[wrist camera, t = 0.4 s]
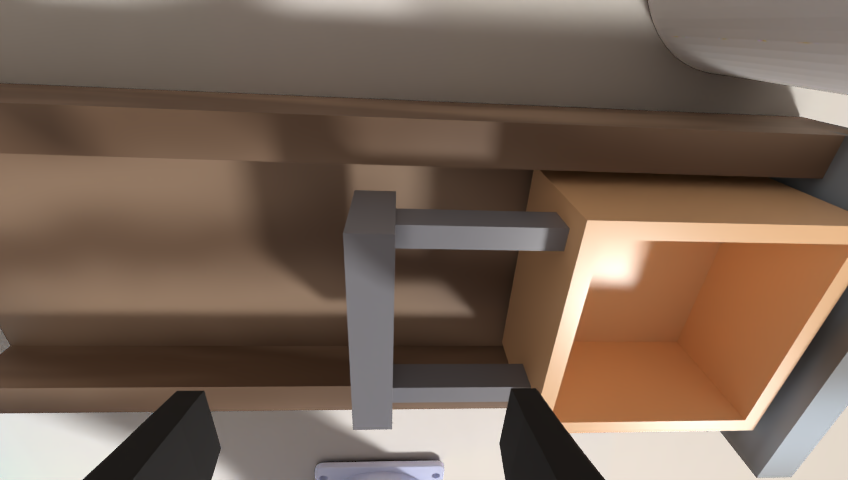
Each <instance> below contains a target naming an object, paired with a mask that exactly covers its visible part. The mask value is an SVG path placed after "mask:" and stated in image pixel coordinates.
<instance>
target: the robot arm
mask: <svg viewBox="0 0 848 480" xmlns="http://www.w3.org/2000/svg"><path fill="white" fill-rule="evenodd" d="M220 449H221V447H220V443H219V440H218V436H217V433H216V429H215V426H214V423H213V419H212V416H211V412H210V409H209V405H208V402H207V398H206V395H205V391H176V392H175V393H174V394H173V395H172V396H171V397H170V398H169V399H168V400H166V401H165V402H164V403H163V404H162V405H161V406H160V407H159V408H158V409H157V410H156V411H155V412H154V413H153V414H152V415H151V416H150V417H149V418H148V419H147V420H145V421H144V422H143V423H142V424H141V425H140V426H139V427H138V428H137V429H136V430H135V431H134V432H133V433H132V434H131V435H130V436H129V437H128V438H127V439H126V440H125V441H124V442H122V443H121V444H120V445H119V446H118V447H117V448H116V449H115V450H114V451H113V452H112V453H111V454H110V455H109V456H108V457H107V458H105V459H104V460H103V461H102V462H101V463H100V464H99V465H98V466H97V467H96V468H95V469H94V470H93V471H91V472H90V473H89V474H88V475H87V476H86V477H85V478H84V479H83V480H211V479H212V476H213V473H214V469H215V466H216V463H217V459H218V456H219V453H220ZM500 450H501V456H502V462H503V468H504V474H505V480H605V479H604V478H603V477H602V475H601V474H600V473H599V472H598V470H597V469H596V468H595V466H594V465H593V464H592V463H591V461H590V460H589V459H588V458H587V456H586V455H585V454H584V453H583V451H582V450H581V449H580V447H579V446H578V445H577V443H576V442H575V441H574V439H573V438H572V437H571V435H570V434H569V433H568V431H567V430H566V429H565V427H564V426H563V425H562V423H561V422H560V420H559V419H558V418H557V416H556V415H555V414H554V412H553V411H552V409H551V408H550V407H549V405H548V404H547V402H546V401H545V399H544V398H543V397H542V395H541V394H540V392H539V391H538V390H537V389H536V388H511V391H510V395H509V400H508V405H507V410H506V415H505V420H504V424H503V429H502V434H501V439H500ZM443 476H444V464H443V463H442V462H441V461H437V460H430V461H378V462H326V463H319V464H317V465H316V468H315V480H443Z"/></svg>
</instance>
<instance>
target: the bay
mask: <svg viewBox="0 0 848 480" xmlns="http://www.w3.org/2000/svg"><path fill="white" fill-rule="evenodd" d="M533 170H556V171H588V172H620V173H653V174H685V175H717V176H750V177H768V178H770V179H773V180H775V181H778V182H780V183H782V184H785V185H787V186H789V187H792V188H794V189H797V190H799V191H801V192H804V193H806V194H809V195H811V196H813V197H816V198H818V199H820V200H823V201H825V202H828V203H830V204H832V205H835V206H837V207H839V208H842V209H844V210H847V211H848V128H846V127H842V126H838V125H833V124H829V123H825V122H821V121H816V120H812V119H808V118H803V117H791V116H767V115H743V114H719V113H696V112H672V111H648V110H624V109H601V108H577V107H553V106H529V105H505V104H482V103H458V102H434V101H410V100H386V99H363V98H339V97H315V96H291V95H268V94H244V93H220V92H196V91H172V90H149V89H125V88H101V87H77V86H54V85H30V84H6V83H0V328H1V329H2V331H3V333H4V335H5V336H6V338H7V340H8V342H9V343H10V345H11V346H10V347H9V348H8V349H6V350H5V351H4V352H3V353H1V354H0V413H81V412H155V411H156V410H157V409H158V408H159V407H160V406H161V405H162V404H163V403H164V402H165V401H166V400H168V399H169V398H170V397H171V396H172V395H173V394H174V393H175V392H176V391H205V395H206V398H207V402H208V405H209V409H210V411H272V410H352V399H351V380H350V360H349V341H348V321H347V302H346V283H345V263H344V244H343V231H344V228H345V224H346V220H347V217H348V213H349V209H350V206H351V202H352V198H353V195H354V191H355V190H369V191H396V208H398V209H441V210H483V211H525V212H526V208H527V203H528V197H529V192H530V187H531V181H532V176H533ZM518 252H519V250H459V249H400V248H395V287H394V345H393V364H509V363H508V360H507V357H506V354H505V350H504V347H503V344H502V340H503V334H504V329H505V323H506V318H507V312H508V307H509V301H510V296H511V290H512V285H513V279H514V274H515V269H516V263H517V258H518ZM507 405H508V402H417V403H392V409H463V408H507ZM847 406H848V286H847V288H846V289H845V291H844V292H843V294H842V295H841V297H840V298H839V300H838V301H837V303H836V304H835V306H834V307H833V309H832V310H831V312H830V314H829V315H828V317H827V318H826V320H825V321H824V323H823V324H822V326H821V327H820V329H819V330H818V332H817V333H816V335H815V336H814V338H813V339H812V341H811V343H810V344H809V346H808V347H807V349H806V350H805V352H804V353H803V355H802V356H801V358H800V359H799V361H798V362H797V364H796V365H795V367H794V369H793V370H792V372H791V373H790V375H789V376H788V378H787V379H786V381H785V382H784V384H783V385H782V387H781V388H780V390H779V391H778V393H777V395H776V396H775V398H774V399H773V401H772V402H771V404H770V405H769V407H768V408H767V410H766V411H765V413H764V414H763V416H762V417H761V419H760V421H759V422H758V424H757V425H756V427H755V428H754V430H739V431H720V432H721V433H722V434H723V436H724V437H725V438H726V439H727V441H728V442H729V443H730V445H731V446H732V447H733V448H734V450H735V451H736V452H737V453H738V455H739V456H740V457H741V459H742V460H743V461H744V462H745V464H746V465H747V466H748V467H749V469H750V470H751V471H752V473H753V474H754V475H755V476H756V478H775V477H792V476H793V474H794V473H795V472H796V470H797V469H798V468H799V467H800V465H801V464H802V463H803V462H804V460H805V459H806V458H807V456H808V455H809V454H810V453H811V451H812V450H813V449H814V448H815V446H816V445H817V444H818V442H819V441H820V440H821V439H822V437H823V436H824V435H825V434H826V432H827V431H828V430H829V428H830V427H831V426H832V425H833V423H834V422H835V421H836V420H837V418H838V417H839V416H840V414H841V413H842V412H843V411H844V409H845V408H846V407H847Z"/></svg>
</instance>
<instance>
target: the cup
mask: <svg viewBox="0 0 848 480" xmlns="http://www.w3.org/2000/svg"><path fill="white" fill-rule="evenodd" d="M648 4H649V9H650V13H651V17H652V20H653V23H654V26H655V28H656V30H657V32H658V34H659V36H660V38H661V40H662V41H663V43H664V44H665V45H666V47H667V48H668V49H669V50H670V51H671V52H672V54H673V55H675V56H676V57H677V58H678V59H679V60H681V61H682V62H684V63H685V64H687V65H689V66H691V67H693V68H695V69H698V70H701V71H704V72H708V73H713V74H720V75H726V76H732V77H738V78H745V79H751V80H757V81H763V82H769V83H776V84H782V85H788V86H794V87H801V88H807V89H813V90H819V91H825V92H832V93H838V94H844V95H848V0H648Z"/></svg>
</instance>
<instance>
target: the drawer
mask: <svg viewBox="0 0 848 480" xmlns="http://www.w3.org/2000/svg"><path fill="white" fill-rule="evenodd" d="M343 244H344V263H345V283H346V302H347V321H348V341H349V360H350V380H351V399H352V419H353V430H371V429H392V403H417V402H508V400H509V395H510V391H511V388H536V389H537V390H538V391H539V392H540V394H541V395H542V397H543V398H544V399H545V401H546V402H547V404H548V405H549V407H550V408H551V409H552V411H553V412H554V414H555V415H556V416H557V418H558V419H559V420H560V422H561V423H562V425H563V426H564V427H565V429H566V430H567V431H568V433H606V432H672V431H739V430H754V428H755V427H756V425H757V424H758V422H759V421H760V419H761V417H762V416H763V414H764V413H765V411H766V410H767V408H768V407H769V405H770V404H771V402H772V401H773V399H774V398H775V396H776V395H777V393H778V391H779V390H780V388H781V387H782V385H783V384H784V382H785V381H786V379H787V378H788V376H789V375H790V373H791V372H792V370H793V369H794V367H795V365H796V364H797V362H798V361H799V359H800V358H801V356H802V355H803V353H804V352H805V350H806V349H807V347H808V346H809V344H810V343H811V341H812V339H813V338H814V336H815V335H816V333H817V332H818V330H819V329H820V327H821V326H822V324H823V323H824V321H825V320H826V318H827V317H828V315H829V314H830V312H831V310H832V309H833V307H834V306H835V304H836V303H837V301H838V300H839V298H840V297H841V295H842V294H843V292H844V291H845V289H846V288H847V286H848V211H847V210H844V209H842V208H839V207H837V206H835V205H832V204H830V203H828V202H825V201H823V200H820V199H818V198H816V197H813V196H811V195H809V194H806V193H804V192H801V191H799V190H797V189H794V188H792V187H789V186H787V185H785V184H782V183H780V182H778V181H775V180H773V179H770V178H768V177H750V176H717V175H685V174H653V173H620V172H588V171H556V170H533V176H532V181H531V187H530V192H529V197H528V203H527V208H526V212H525V211H483V210H441V209H398V208H396V191H369V190H355V191H354V195H353V198H352V202H351V206H350V209H349V213H348V217H347V220H346V224H345V228H344V231H343ZM395 248H400V249H459V250H519V252H518V258H517V263H516V269H515V274H514V279H513V285H512V290H511V296H510V301H509V307H508V312H507V318H506V323H505V329H504V334H503V340H502V344H503V347H504V350H505V354H506V357H507V360H508V363H509V364H393V345H394V287H395Z"/></svg>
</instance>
